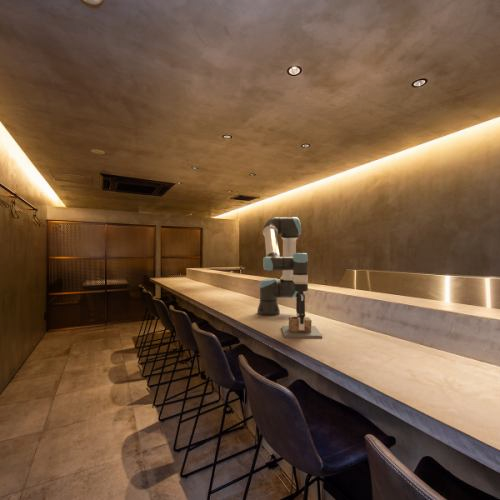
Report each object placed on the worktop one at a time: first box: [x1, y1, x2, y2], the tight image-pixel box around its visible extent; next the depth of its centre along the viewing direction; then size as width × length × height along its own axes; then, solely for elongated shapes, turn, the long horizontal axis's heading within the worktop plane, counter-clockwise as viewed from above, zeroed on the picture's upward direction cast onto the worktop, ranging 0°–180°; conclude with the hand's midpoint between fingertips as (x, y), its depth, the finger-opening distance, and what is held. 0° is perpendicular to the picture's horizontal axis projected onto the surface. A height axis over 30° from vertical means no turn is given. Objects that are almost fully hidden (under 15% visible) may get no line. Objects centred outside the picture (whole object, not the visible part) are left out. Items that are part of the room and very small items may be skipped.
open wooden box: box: [288, 315, 312, 332], centre depth 148 cm, size 10×7×6 cm
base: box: [281, 317, 323, 339], centre depth 148 cm, size 18×18×8 cm
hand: (300, 328), depth 148 cm, fingers closed on open wooden box, 7 cm apart
